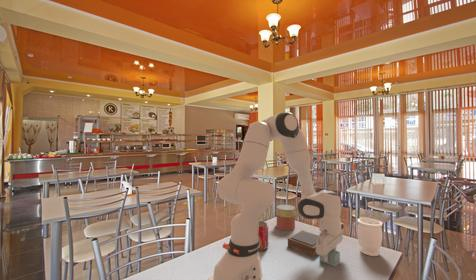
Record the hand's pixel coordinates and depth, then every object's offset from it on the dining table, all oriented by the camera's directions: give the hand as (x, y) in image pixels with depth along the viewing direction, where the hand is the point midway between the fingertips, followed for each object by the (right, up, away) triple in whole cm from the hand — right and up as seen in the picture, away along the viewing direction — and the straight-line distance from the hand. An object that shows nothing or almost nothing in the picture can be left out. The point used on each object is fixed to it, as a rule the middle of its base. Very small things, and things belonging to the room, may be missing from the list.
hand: (329, 258), depth 100 cm
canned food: (-11, -1, +40) cm, 41 cm away
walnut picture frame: (-6, -1, +14) cm, 15 cm away
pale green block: (0, -2, 0) cm, 2 cm away
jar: (+23, -2, +8) cm, 24 cm away
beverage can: (-30, -2, +13) cm, 32 cm away
